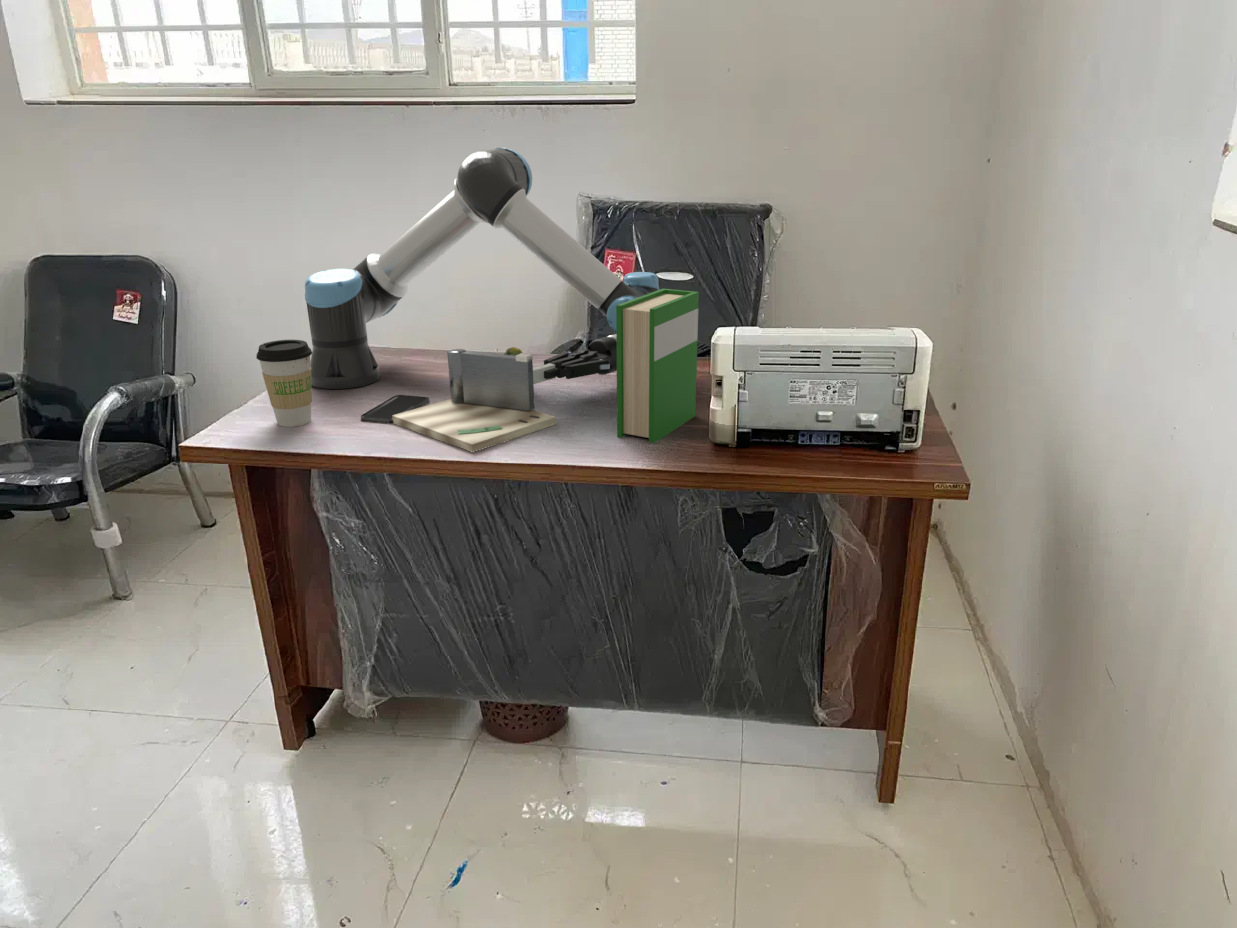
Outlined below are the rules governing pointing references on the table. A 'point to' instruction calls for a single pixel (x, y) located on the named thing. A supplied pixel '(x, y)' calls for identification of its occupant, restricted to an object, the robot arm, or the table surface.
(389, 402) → the phone
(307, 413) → the coffee cup
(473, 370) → the grey flat rounded-edge slab
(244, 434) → the table surface
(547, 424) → the board
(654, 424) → the hardback book
